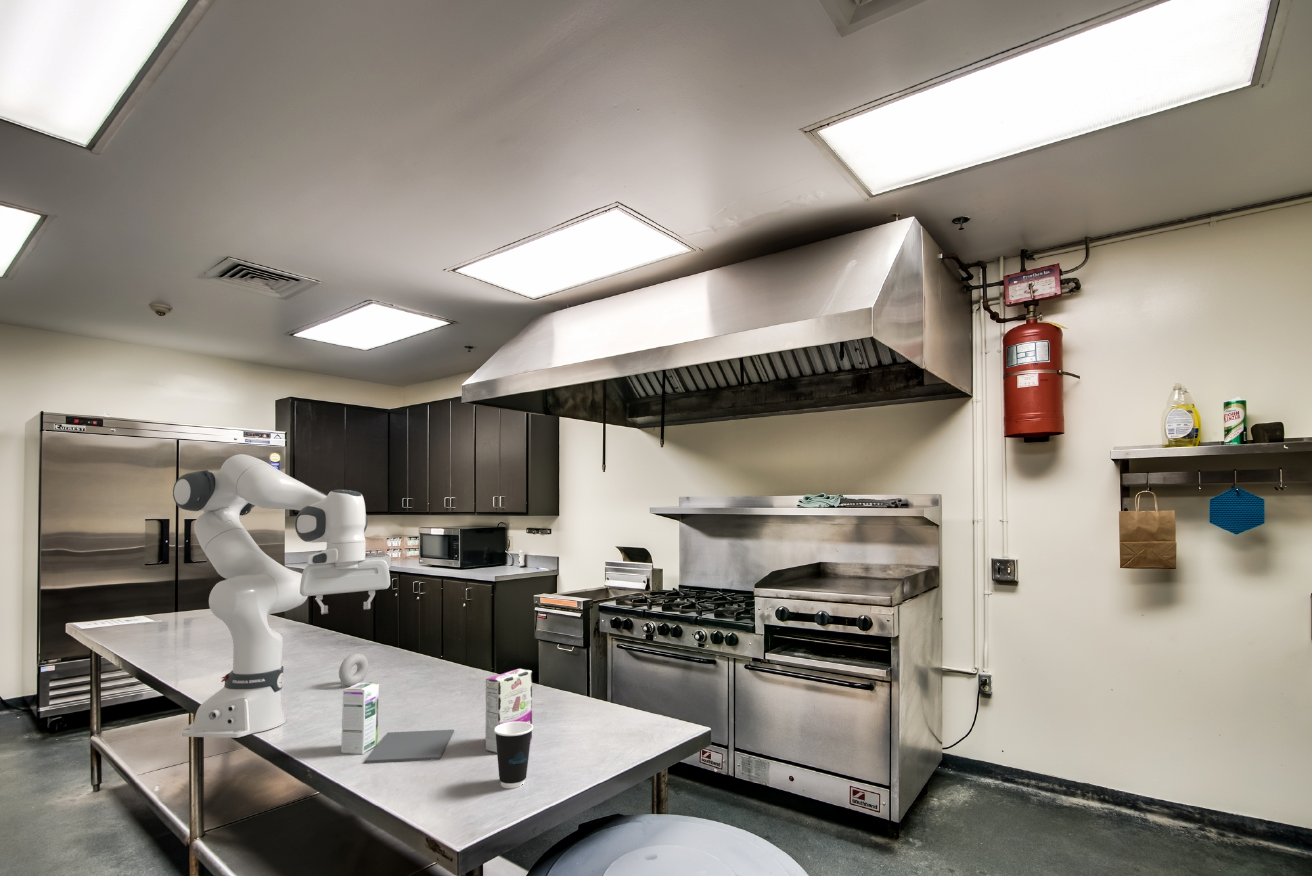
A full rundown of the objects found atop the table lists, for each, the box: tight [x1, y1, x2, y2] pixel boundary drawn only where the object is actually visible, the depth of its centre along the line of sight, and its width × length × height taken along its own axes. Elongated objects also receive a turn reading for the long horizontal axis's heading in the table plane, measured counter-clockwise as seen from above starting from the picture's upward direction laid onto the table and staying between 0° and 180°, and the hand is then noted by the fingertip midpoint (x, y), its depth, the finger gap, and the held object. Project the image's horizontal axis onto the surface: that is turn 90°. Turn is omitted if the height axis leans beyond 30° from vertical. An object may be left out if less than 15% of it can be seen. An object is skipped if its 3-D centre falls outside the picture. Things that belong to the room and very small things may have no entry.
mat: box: [364, 729, 455, 764], centre depth 153 cm, size 16×18×1 cm
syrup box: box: [340, 681, 380, 755], centre depth 153 cm, size 6×6×14 cm
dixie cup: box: [494, 722, 534, 789], centre depth 133 cm, size 8×8×11 cm
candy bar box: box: [484, 668, 533, 754], centre depth 155 cm, size 11×5×16 cm, turn 148°
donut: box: [338, 652, 369, 687], centre depth 206 cm, size 10×4×10 cm, turn 152°
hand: (346, 611), depth 160 cm, fingers open, 8 cm apart
